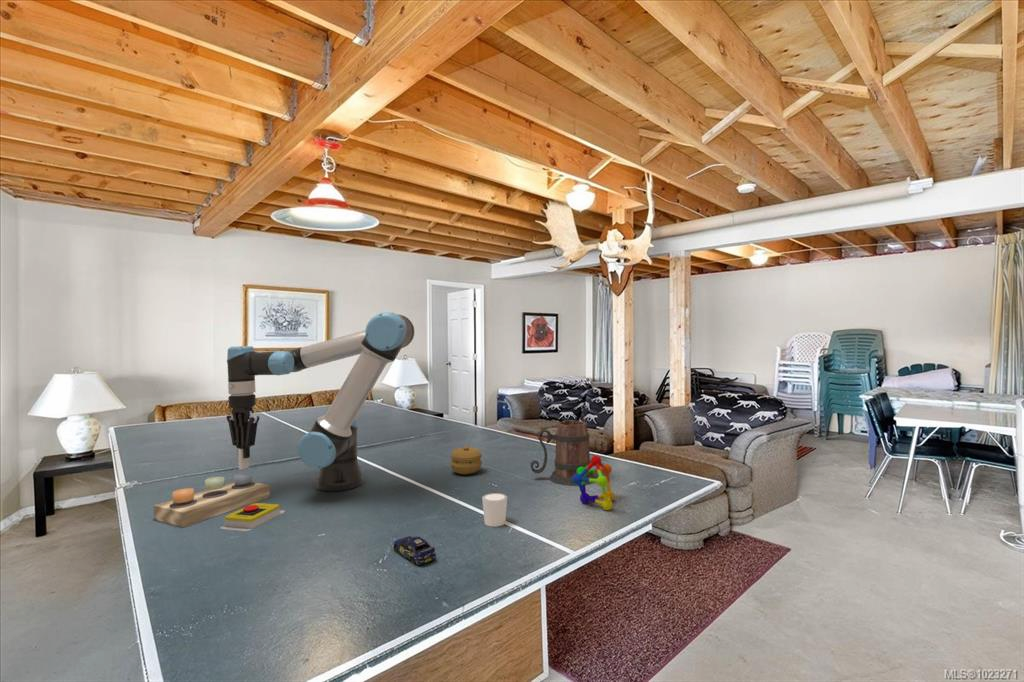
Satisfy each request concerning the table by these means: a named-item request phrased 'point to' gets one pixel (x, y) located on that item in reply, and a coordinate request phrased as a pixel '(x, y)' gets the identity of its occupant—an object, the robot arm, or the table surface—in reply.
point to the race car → (415, 550)
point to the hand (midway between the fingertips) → (244, 467)
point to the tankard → (567, 452)
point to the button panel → (210, 503)
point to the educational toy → (601, 481)
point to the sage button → (214, 483)
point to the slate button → (242, 478)
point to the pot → (466, 460)
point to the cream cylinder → (494, 509)
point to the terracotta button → (183, 495)
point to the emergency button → (251, 516)
